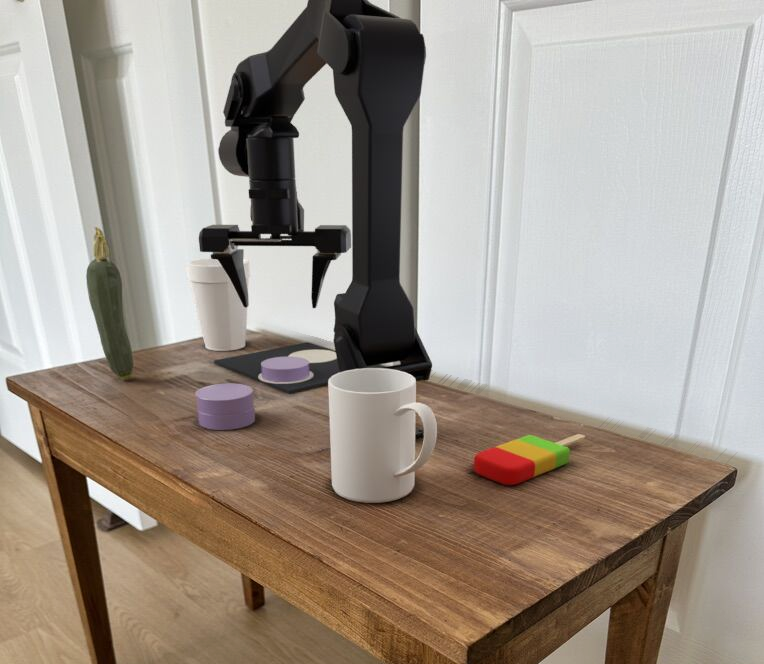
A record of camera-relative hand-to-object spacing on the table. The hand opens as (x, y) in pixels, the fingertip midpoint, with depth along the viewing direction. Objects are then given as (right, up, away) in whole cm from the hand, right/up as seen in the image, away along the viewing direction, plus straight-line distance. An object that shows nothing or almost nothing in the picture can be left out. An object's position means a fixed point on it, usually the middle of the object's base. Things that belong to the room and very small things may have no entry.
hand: (280, 307), depth 101 cm
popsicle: (+30, -22, -23) cm, 43 cm away
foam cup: (-12, -1, +21) cm, 24 cm away
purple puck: (-5, -15, -12) cm, 20 cm away
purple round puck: (0, -8, +4) cm, 9 cm away
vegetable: (-23, -9, +4) cm, 25 cm away
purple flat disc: (-5, -16, -11) cm, 20 cm away
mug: (+14, -26, -30) cm, 42 cm away
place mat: (+1, -6, +10) cm, 12 cm away
